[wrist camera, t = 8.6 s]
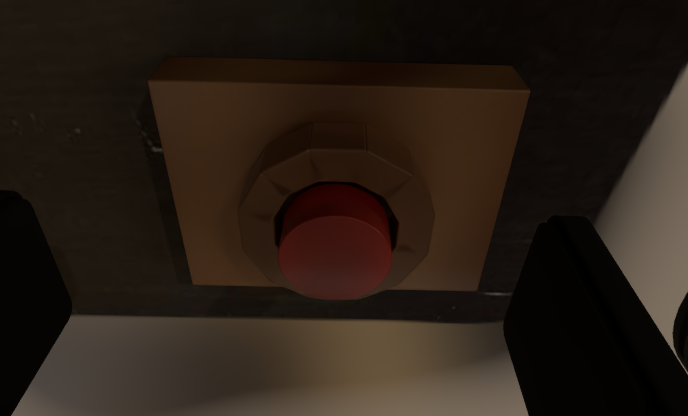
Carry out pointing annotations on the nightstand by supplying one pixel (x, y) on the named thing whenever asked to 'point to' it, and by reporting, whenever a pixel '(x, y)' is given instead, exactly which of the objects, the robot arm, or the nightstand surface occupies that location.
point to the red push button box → (337, 158)
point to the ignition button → (335, 242)
